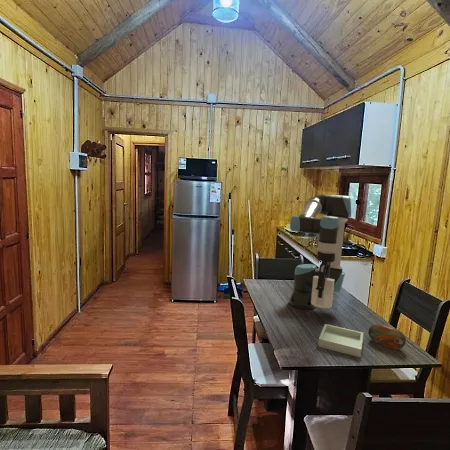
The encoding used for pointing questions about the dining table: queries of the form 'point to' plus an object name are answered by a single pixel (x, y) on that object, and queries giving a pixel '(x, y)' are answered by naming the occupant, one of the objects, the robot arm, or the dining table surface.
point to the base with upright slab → (327, 293)
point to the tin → (387, 336)
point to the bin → (341, 340)
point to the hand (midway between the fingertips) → (321, 301)
